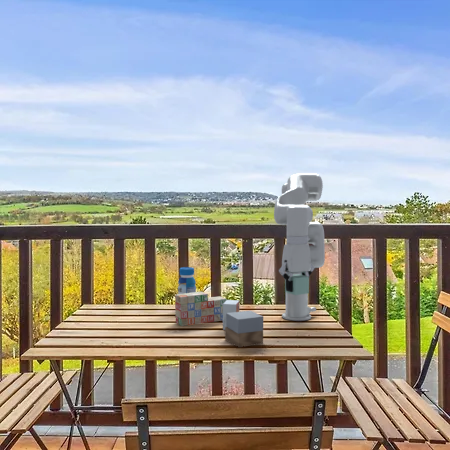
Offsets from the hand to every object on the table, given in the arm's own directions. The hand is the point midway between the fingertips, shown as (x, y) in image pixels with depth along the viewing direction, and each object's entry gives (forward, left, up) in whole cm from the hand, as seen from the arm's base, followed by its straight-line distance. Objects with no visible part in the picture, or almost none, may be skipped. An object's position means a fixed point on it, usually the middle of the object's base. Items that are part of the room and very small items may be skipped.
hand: (296, 289), depth 165 cm
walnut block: (+16, -10, -19) cm, 27 cm away
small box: (+11, -28, -19) cm, 35 cm away
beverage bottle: (+14, -64, -19) cm, 68 cm away
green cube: (0, 0, -1) cm, 1 cm away
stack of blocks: (+17, -43, -19) cm, 50 cm away
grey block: (+16, -10, -14) cm, 24 cm away
